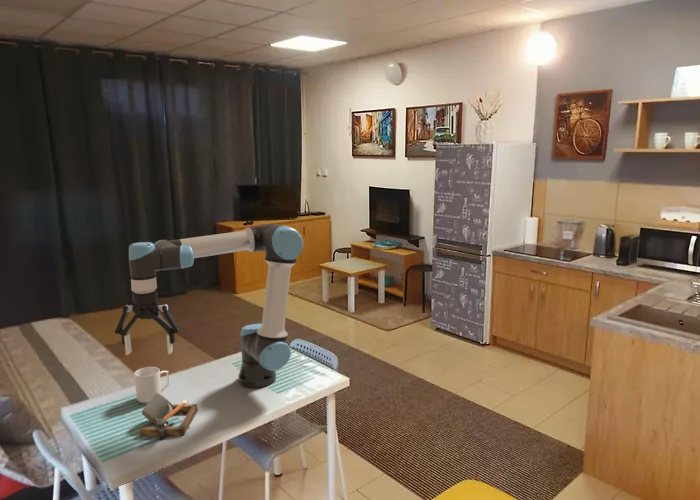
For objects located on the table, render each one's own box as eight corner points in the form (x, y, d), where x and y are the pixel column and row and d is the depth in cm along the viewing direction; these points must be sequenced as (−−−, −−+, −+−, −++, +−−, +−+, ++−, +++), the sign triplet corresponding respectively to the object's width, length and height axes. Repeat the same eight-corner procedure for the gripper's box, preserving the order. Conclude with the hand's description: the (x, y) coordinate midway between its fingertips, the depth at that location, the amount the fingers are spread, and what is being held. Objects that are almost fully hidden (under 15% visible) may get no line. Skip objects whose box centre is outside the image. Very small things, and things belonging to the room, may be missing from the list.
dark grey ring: (171, 434, 160) (170, 420, 160) (166, 442, 156) (165, 427, 155) (157, 434, 160) (156, 420, 160) (152, 442, 156) (151, 428, 155)
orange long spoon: (190, 403, 171) (190, 400, 171) (162, 426, 156) (161, 423, 156) (183, 402, 172) (183, 399, 171) (154, 425, 156) (154, 422, 156)
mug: (138, 406, 179) (136, 378, 177) (134, 397, 186) (132, 370, 184) (172, 398, 185) (170, 371, 183) (167, 389, 193) (165, 363, 191)
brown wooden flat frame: (197, 410, 176) (197, 404, 176) (183, 435, 160) (183, 428, 159) (158, 411, 176) (158, 404, 175) (140, 436, 159) (140, 429, 159)
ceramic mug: (153, 425, 169) (137, 410, 167) (170, 406, 174) (155, 391, 172) (160, 427, 161) (144, 411, 159) (179, 407, 165) (163, 392, 164)
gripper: (187, 287, 160) (191, 348, 164) (110, 288, 160) (116, 349, 163) (180, 293, 153) (184, 356, 157) (99, 294, 152) (106, 358, 156)
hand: (149, 353), depth 160 cm, fingers open, 13 cm apart
